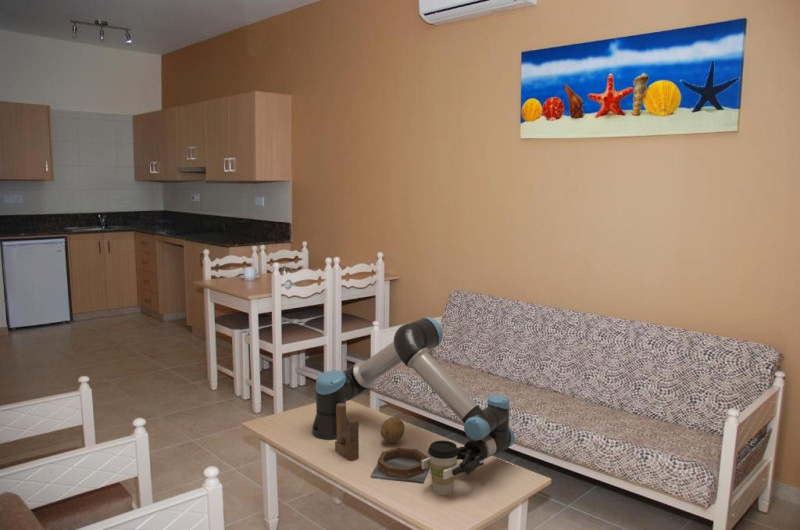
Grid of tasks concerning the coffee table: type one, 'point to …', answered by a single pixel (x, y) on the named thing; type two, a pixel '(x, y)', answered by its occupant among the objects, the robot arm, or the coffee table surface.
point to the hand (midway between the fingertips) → (433, 469)
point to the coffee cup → (442, 465)
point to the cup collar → (401, 465)
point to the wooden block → (346, 435)
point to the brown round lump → (392, 429)
